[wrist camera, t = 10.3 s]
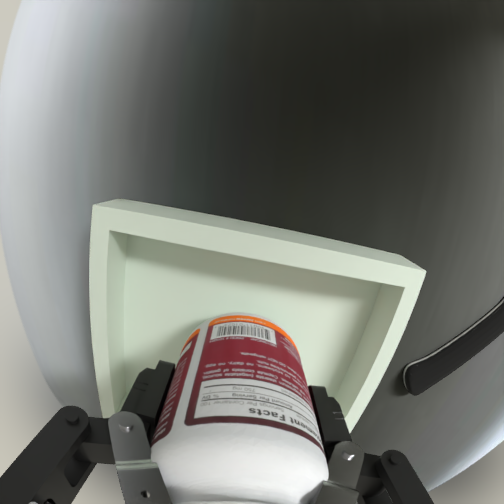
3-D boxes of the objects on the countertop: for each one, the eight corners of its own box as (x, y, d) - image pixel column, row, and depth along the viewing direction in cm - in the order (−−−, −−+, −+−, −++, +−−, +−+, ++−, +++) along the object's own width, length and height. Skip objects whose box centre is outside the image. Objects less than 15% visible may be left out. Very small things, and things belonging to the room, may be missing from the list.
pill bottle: (229, 412, 16) (217, 576, 5) (161, 343, 15) (81, 525, 4) (319, 367, 15) (372, 549, 4) (256, 284, 14) (266, 520, 3)
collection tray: (400, 255, 15) (426, 271, 12) (327, 427, 19) (334, 455, 16) (119, 198, 14) (92, 204, 12) (117, 392, 18) (103, 419, 15)
